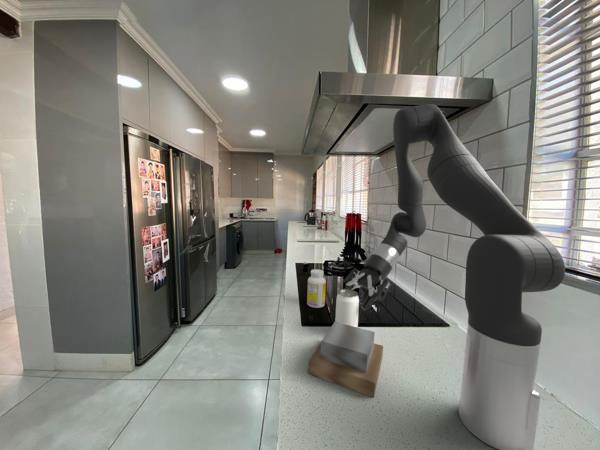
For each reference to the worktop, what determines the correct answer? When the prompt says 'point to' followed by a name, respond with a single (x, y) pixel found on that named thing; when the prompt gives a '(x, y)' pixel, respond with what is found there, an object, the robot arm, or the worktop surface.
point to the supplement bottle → (316, 289)
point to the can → (347, 308)
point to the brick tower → (348, 358)
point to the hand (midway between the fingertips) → (352, 303)
